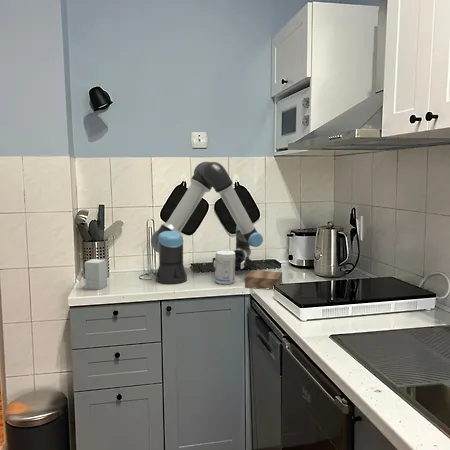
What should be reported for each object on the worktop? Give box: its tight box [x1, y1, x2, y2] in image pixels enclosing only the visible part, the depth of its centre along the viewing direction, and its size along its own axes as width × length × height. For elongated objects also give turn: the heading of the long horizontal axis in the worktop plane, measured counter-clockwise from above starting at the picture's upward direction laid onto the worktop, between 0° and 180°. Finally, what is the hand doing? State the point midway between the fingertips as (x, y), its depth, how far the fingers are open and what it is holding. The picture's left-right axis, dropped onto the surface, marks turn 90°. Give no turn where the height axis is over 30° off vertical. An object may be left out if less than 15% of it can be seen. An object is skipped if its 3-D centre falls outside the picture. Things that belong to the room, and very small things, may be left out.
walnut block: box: [244, 269, 283, 290], centre depth 221 cm, size 15×14×5 cm
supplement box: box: [84, 258, 108, 291], centre depth 214 cm, size 7×7×13 cm
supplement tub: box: [214, 249, 236, 285], centre depth 224 cm, size 10×10×15 cm
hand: (227, 265), depth 226 cm, fingers open, 13 cm apart
